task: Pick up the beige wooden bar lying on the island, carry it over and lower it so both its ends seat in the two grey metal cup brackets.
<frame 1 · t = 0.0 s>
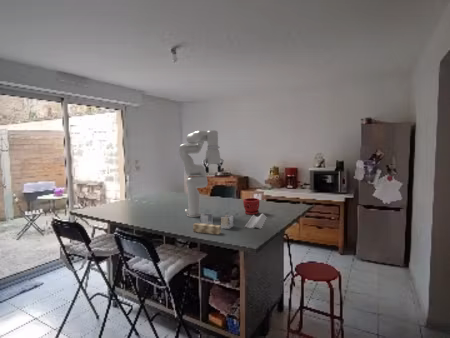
hand: (213, 172, 198), 37 cm above the table, tool pointing down, fingers open, 9 cm apart
plant pot: (251, 213, 231), on the table
cup brackets: (216, 226, 195), on the table
beige wooden bar: (206, 232, 181), on the table
crown molding: (256, 223, 203), on the table
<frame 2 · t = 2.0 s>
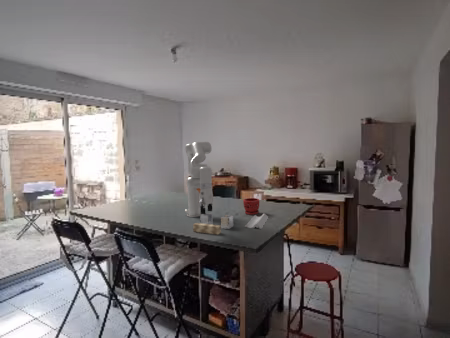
hand: (206, 212, 180), 13 cm above the table, tool pointing down, fingers open, 9 cm apart
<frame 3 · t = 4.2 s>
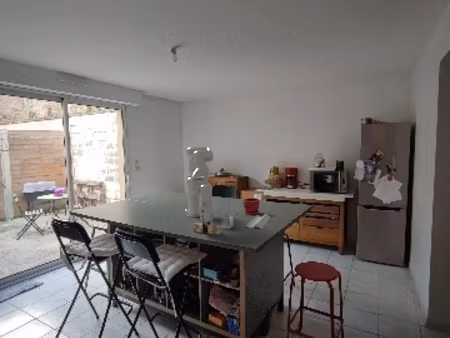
hand: (206, 231, 181), 1 cm above the table, tool pointing down, fingers closed on beige wooden bar, 4 cm apart
beige wooden bar: (207, 232, 181), on the table, touching gripper
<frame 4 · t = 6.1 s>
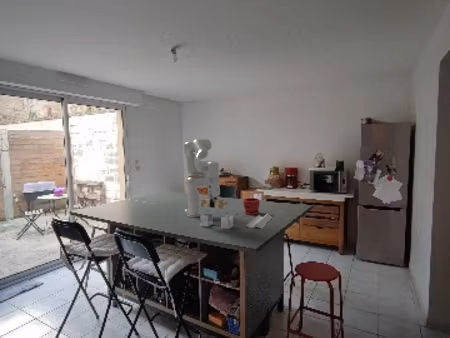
hand: (213, 206, 191), 15 cm above the table, tool pointing down, fingers closed on beige wooden bar, 4 cm apart
beige wooden bar: (213, 207, 191), point 14 cm above the table, touching gripper
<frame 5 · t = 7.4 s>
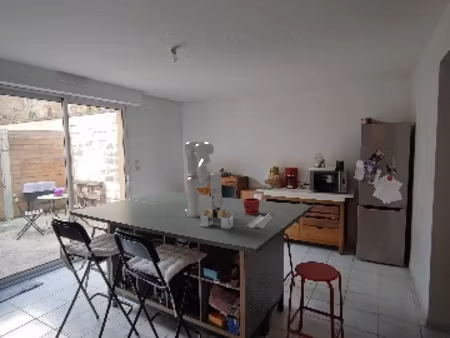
hand: (216, 216, 194), 7 cm above the table, tool pointing down, fingers closed on beige wooden bar, 4 cm apart
beige wooden bar: (216, 217, 194), point 6 cm above the table, touching gripper
when the fingers open (4 cm above the table, at t = 8.5 s): beige wooden bar stays where it is, resting on cup brackets.
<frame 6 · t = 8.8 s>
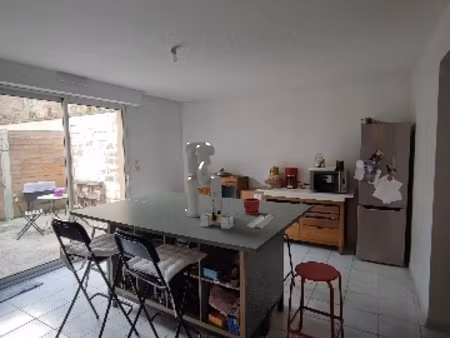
hand: (216, 219, 195), 5 cm above the table, tool pointing down, fingers open, 7 cm apart
beige wooden bar: (216, 221, 195), point 3 cm above the table, touching cup brackets
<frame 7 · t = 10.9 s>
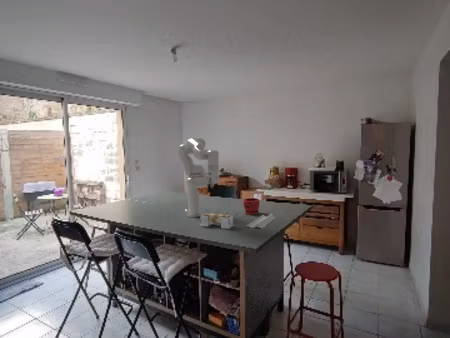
hand: (213, 191, 201), 23 cm above the table, tool pointing down, fingers open, 9 cm apart
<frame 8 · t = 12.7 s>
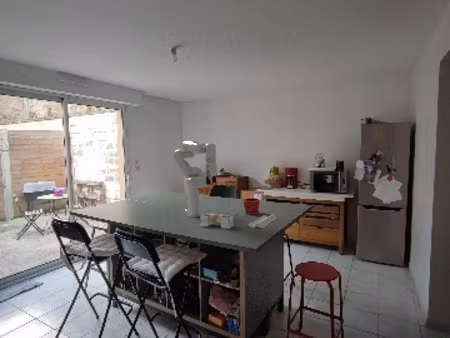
hand: (211, 183, 207), 28 cm above the table, tool pointing down, fingers open, 9 cm apart
at the end: beige wooden bar 0.1 cm off-centre on the cup brackets, point 3.0 cm above the cup brackets's base; beige wooden bar tilted 0°; the gripper is holding nothing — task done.
